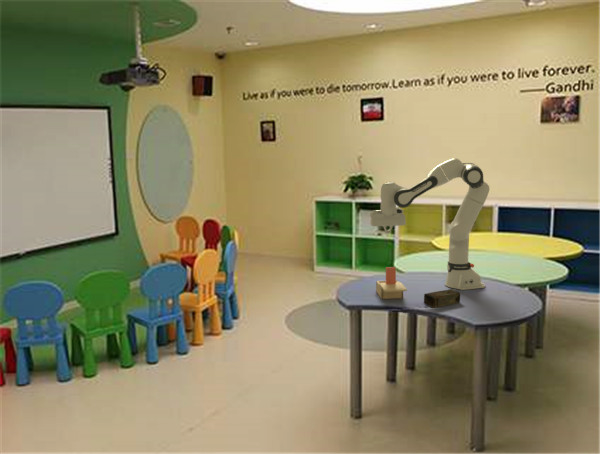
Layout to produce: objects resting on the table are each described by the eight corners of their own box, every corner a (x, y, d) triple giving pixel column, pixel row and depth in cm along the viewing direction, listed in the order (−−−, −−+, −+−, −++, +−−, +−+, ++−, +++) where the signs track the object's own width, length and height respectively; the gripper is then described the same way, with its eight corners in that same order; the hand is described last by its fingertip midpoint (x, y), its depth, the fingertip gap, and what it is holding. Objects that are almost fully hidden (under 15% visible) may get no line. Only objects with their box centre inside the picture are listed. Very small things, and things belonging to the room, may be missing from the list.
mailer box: (376, 292, 318) (376, 280, 316) (397, 292, 318) (397, 280, 317) (381, 300, 304) (381, 288, 303) (403, 299, 305) (403, 287, 303)
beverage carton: (460, 303, 298) (461, 291, 296) (432, 309, 289) (433, 297, 288) (450, 299, 305) (450, 287, 303) (422, 305, 296) (423, 293, 295)
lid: (379, 284, 309) (379, 267, 307) (400, 283, 310) (400, 266, 308) (384, 291, 295) (384, 273, 293) (406, 290, 296) (407, 273, 294)
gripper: (371, 211, 322) (371, 234, 324) (406, 210, 323) (406, 233, 326) (369, 209, 328) (369, 232, 331) (403, 208, 329) (403, 231, 332)
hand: (387, 233), depth 328 cm, fingers closed
